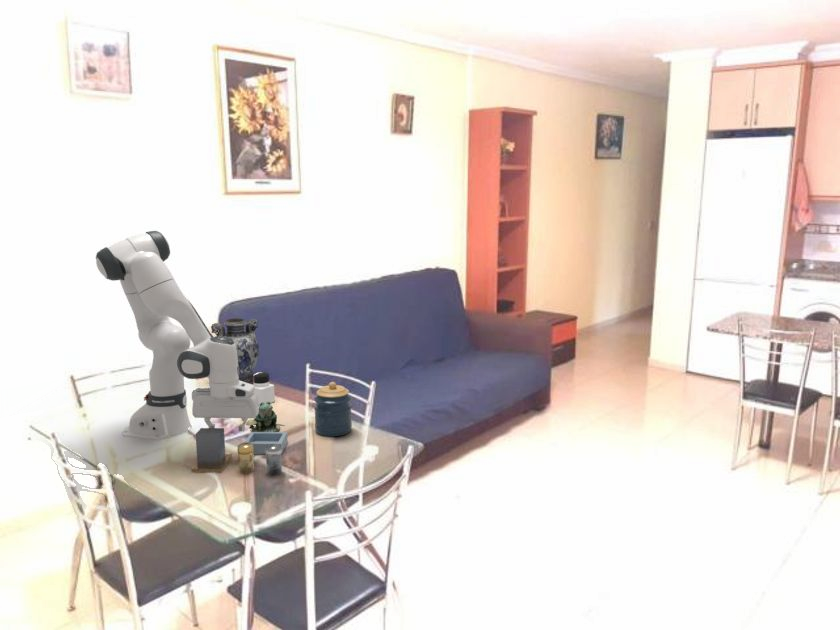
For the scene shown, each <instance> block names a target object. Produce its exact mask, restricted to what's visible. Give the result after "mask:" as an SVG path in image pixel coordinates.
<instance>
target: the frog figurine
mask: <svg viewBox="0 0 840 630" xmlns="http://www.w3.org/2000/svg"><path fill="white" fill-rule="evenodd" d="M273 409H274V407H273V406H272V405H271V403H270V402H266V404H264V403H263V402H261V404H260V406H259V413H258V415H257V416H256V417H255V418H253V419H249V420H247V421H246V423H245V426H249V427H248V428H249V429H250V433H251V432H281V431H280V429H281V427H285V426H286V425H285V424H281V423H277V419H278V416H277V414H276V412H275V411H274V410H273ZM253 425H256V426H253Z"/></svg>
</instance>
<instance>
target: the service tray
mask: <svg viewBox="0 0 840 630" xmlns="http://www.w3.org/2000/svg"><path fill="white" fill-rule="evenodd" d="M288 441H289V440H288V432H287V431H279V432H251V431H250V433H249V434H248V436H247V438H246V439H245V440H244V442H243V443H245V442H249V443H252V444H253V447H254V452H253V453H254V455H266V451H265V450H266V446H267V445H269V444H279V445H281V455H283V452H284V450H285V448H286V445H287V444H288Z"/></svg>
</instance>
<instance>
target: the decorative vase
mask: <svg viewBox="0 0 840 630" xmlns="http://www.w3.org/2000/svg"><path fill="white" fill-rule="evenodd" d="M258 324H259V321H258V320H257V319H255V318H253V319H250V320H249V321H246V320H245V319H243V318H229V319H228V318H227V319H226V320H225V322H224V323H223V325H222V324H221V323H219V322H214V323H213V324H211V326H210V329H211V331H210V333H211V334H215V336H222V337H227V338H230V339H232V340H233V341H234V343H235V345H236V349H237V357H238V367H237V374H238V376H239V380H240V381H243V382H246V383H249V384H250V382H251V378H249V376H250V375H251V374H252V373H253V372H254V369H256V365H257V362H258V359H259V353H260V352H259V348H260V347H259V346H260V345H259V343H258V341H257V336H256V332H255V331H256V329H258V328H259V326H258ZM224 326H225V327H226V328H227V329H225V327H224Z"/></svg>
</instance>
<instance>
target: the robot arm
mask: <svg viewBox="0 0 840 630" xmlns="http://www.w3.org/2000/svg"><path fill="white" fill-rule="evenodd" d="M170 255H171V250H170V244H169V242H168V240H167V238H166V237H165V236H164V234H162V232H160V231H158V230H151V231H145V233H141V234H137V235H133V236H130V237H126V238H125V239H123V240H120V241H118V242H116V243H114V244H112V245H110V246H108V247H103V248H102V249H100V250H98V251H97V252H96V254H95V260H96V261H95V263H96V267H97V270H98V271H99V272H100V274H101V275H102V276H104V277H105V279H107V280H109V281H114V282H115V281H119V282H120V285H121V288H122V290H123V292H124V295H125V298H126V300H127V301H128V303H129V307H130V308H131V311H132V312H133V316H134V320H135V322H136V327H137V330H138V338H139V341H140V342H141V343H142V345H143V346H144V347H145V348H146V349H148V350H150V351H152V353H153V355H152V356H153V357H152V365H151V368H150V369H149V371H148V377H149V386H150V387H149V389H150V390H149V391H148V393H147V394H145V396H144V397H143V402H144V401H145V402H146V403H144V404H143V405H142V406H141V407H139V408H138V409H137V410H136V411H135V412H133V414H132V415H131V417H130V419H129V425H128V426H127V427H126V428H125V429H123V432H122V436H123V437H125V438H127V437H128V438H137V439H138V438H139V439H148V440H157V441H158V440H165V439H167V438H170V437H174V436H179V435H183V434H185V433H187V432H189V431H188V428H189V427H190V426H192V425H191V424H192V423H191V421H190V419H189V415H188V410H187V405H188V404H187V403H188V401H187V400H188V398H187V390H186V389H185V378H187V379H188V380H196V379H197V380H198V379H203V378H204V379H205V378H207V379H208V381H209V387H207V388H206V387H203V388H202V387H198V388H195V389H193V390H192V391H191V401H192V407H191V408H192V416H193V417H194V418H195V419H199V418H200V419H204V423H205V424H206V425H207V426H208V427H207V428H216V424H215V423H213V422H212V421H211V419H241V422H242V423H239V425H238V426H237V427H238V432H244V431H245V429H246V427H245V426H246V423H247V421H249V420H248V419H254V418H255V417H256V416H257V415H258V413H259V407H260V406H259V405H258V399H257V396H256V394H255V393H253V392H254V389H255V387H254V384H251V383H250V382H249V383H246V382H243V381H240V380H239V376H238V374H237V367H238V357H237V349H236V345H235V343H234V341H233V340H232V339H230V338H227V337H222V336H217V335H215V336H213V333H211V331H210V330H209V328H208V327H207V325H206V324H205V322H204V321H203V319H202V318H201V316H200V314H199V313H198V311H197V310H196V308H195V307H194V305H193V304H192V303H191V301H190V300H189V299H188V298H187V297H186V296H185V295H184V293H183V292H182V290H181V289H180V287H179V286H178V283H177V282H176V280H175V278H174V276H173V274H172V272H171V271H170V269H169V268H168V265H166V263H165V262H166V260H167V259H169V258H170ZM170 319H172V320H175V321H176V322H178V323H179V325H180V326H181V327H180V326H178V325H175V324H173V323H172V321H171V320H170ZM191 342H192V345H193V346H191ZM190 346H191V347H190Z"/></svg>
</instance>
